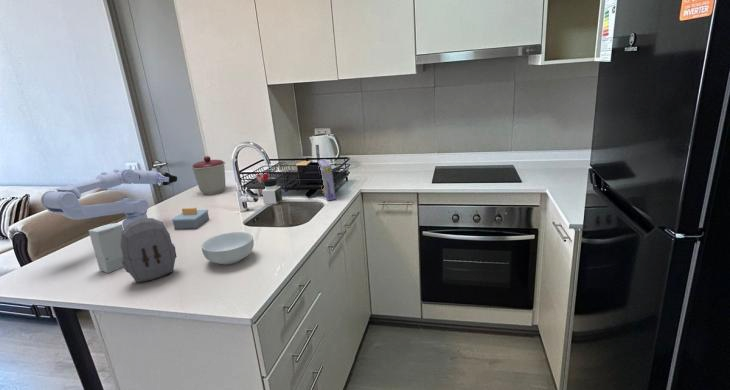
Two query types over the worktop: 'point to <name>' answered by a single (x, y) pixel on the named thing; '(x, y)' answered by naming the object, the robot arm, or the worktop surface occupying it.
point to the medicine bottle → (271, 192)
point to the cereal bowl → (228, 247)
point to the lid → (189, 214)
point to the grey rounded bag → (147, 249)
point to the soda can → (262, 179)
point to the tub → (191, 223)
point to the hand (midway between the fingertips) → (170, 177)
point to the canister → (210, 176)
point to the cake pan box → (327, 179)
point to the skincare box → (107, 246)
